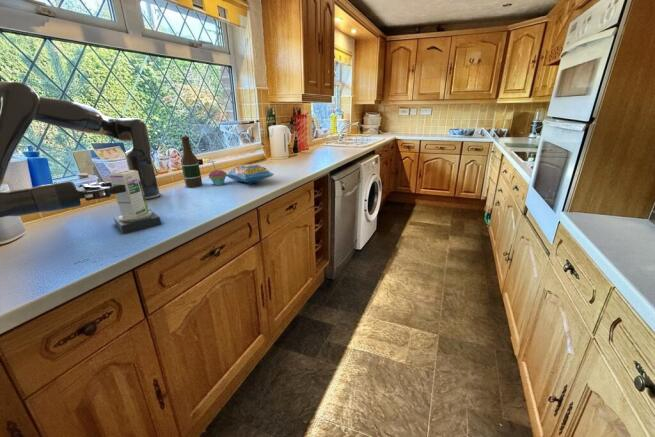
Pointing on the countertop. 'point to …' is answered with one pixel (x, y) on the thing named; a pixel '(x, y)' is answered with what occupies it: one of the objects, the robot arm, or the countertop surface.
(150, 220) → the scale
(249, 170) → the packet
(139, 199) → the syrup box
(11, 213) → the robot arm
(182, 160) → the beer bottle
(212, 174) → the cupcake
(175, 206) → the countertop surface
